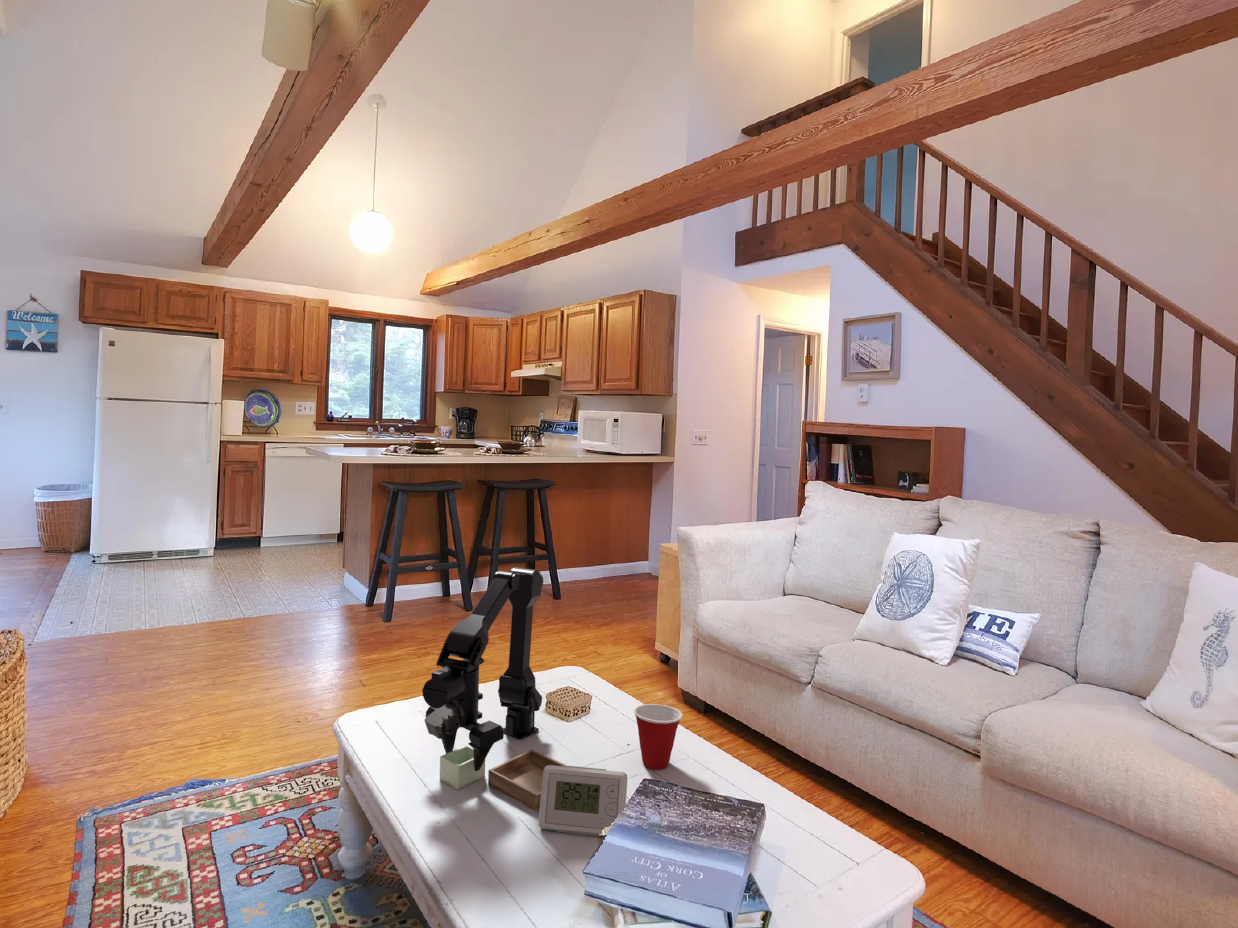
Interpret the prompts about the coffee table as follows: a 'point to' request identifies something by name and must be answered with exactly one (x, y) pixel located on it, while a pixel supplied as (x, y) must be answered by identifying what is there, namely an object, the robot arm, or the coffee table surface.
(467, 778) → the small crate
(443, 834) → the coffee table surface
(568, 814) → the digital clock
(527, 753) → the big crate
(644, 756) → the plastic cup
